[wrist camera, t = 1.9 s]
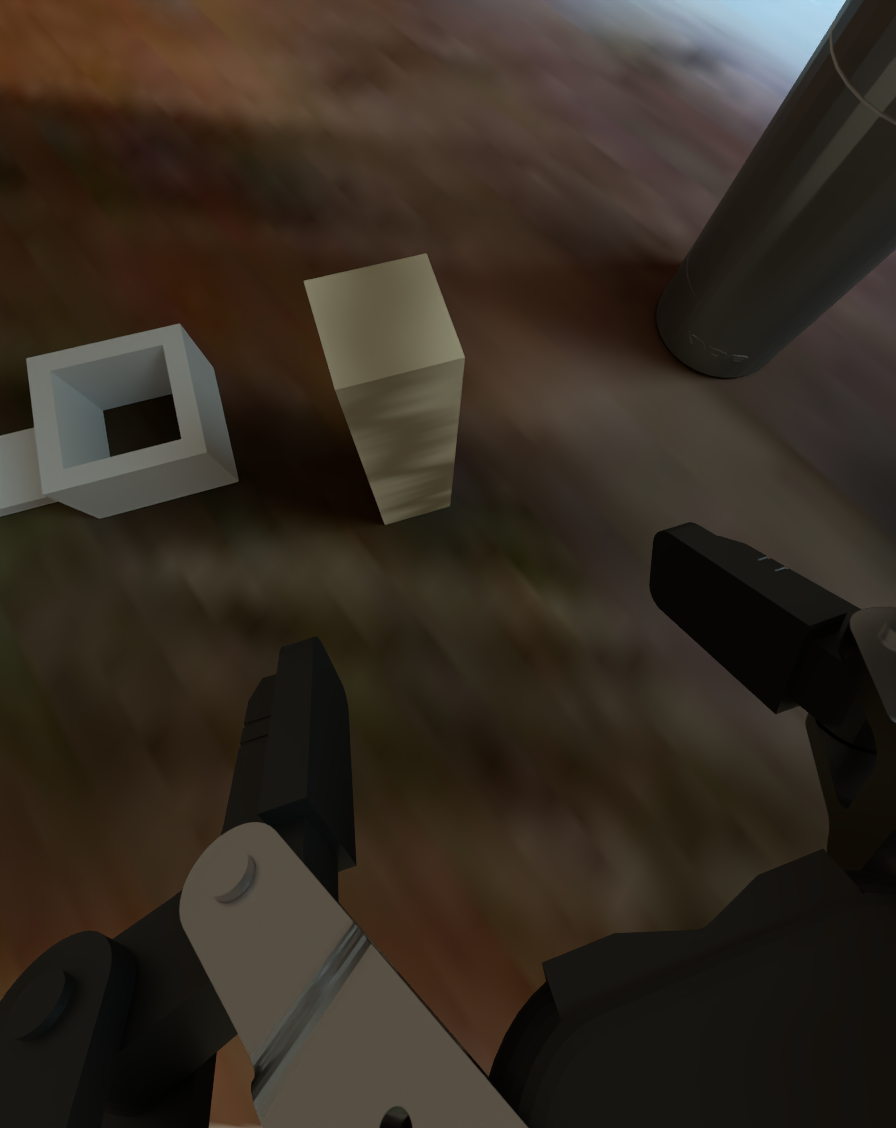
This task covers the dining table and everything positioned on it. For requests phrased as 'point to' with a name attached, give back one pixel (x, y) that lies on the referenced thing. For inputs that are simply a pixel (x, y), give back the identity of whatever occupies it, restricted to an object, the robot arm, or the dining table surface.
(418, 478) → the block
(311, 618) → the dining table surface
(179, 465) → the post
